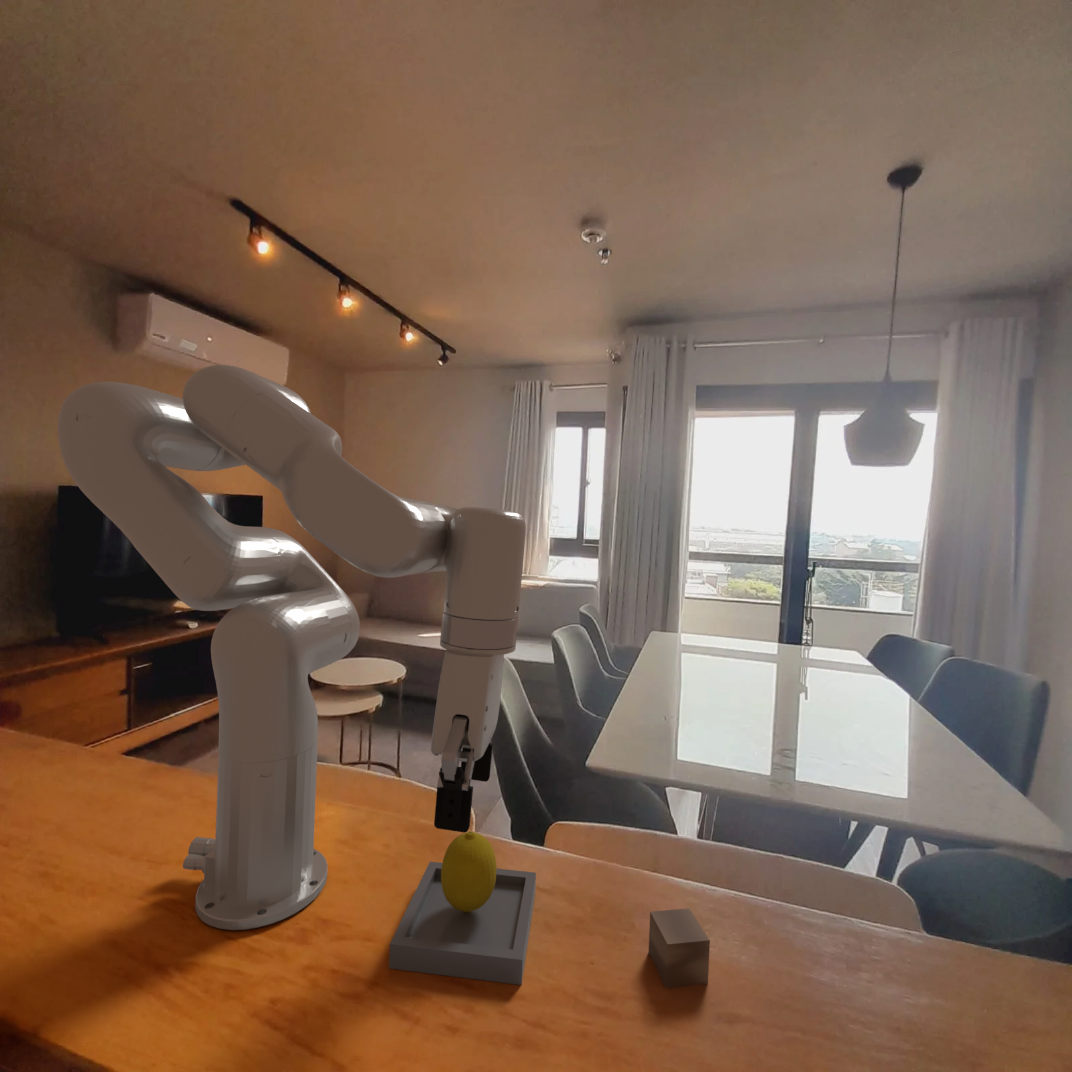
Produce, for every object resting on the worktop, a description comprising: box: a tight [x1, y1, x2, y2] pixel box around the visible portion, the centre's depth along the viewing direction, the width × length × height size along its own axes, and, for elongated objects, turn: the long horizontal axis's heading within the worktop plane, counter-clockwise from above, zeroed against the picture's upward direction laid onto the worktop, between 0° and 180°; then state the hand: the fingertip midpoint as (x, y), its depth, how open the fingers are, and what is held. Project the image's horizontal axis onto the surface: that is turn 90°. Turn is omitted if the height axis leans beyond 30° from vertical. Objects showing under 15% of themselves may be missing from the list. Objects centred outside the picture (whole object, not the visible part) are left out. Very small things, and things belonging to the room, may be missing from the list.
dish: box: [388, 861, 537, 986], centre depth 53 cm, size 12×12×2 cm
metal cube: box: [648, 908, 711, 989], centre depth 49 cm, size 4×4×4 cm
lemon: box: [441, 830, 497, 913], centre depth 53 cm, size 6×6×8 cm
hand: (464, 801), depth 53 cm, fingers open, 9 cm apart
